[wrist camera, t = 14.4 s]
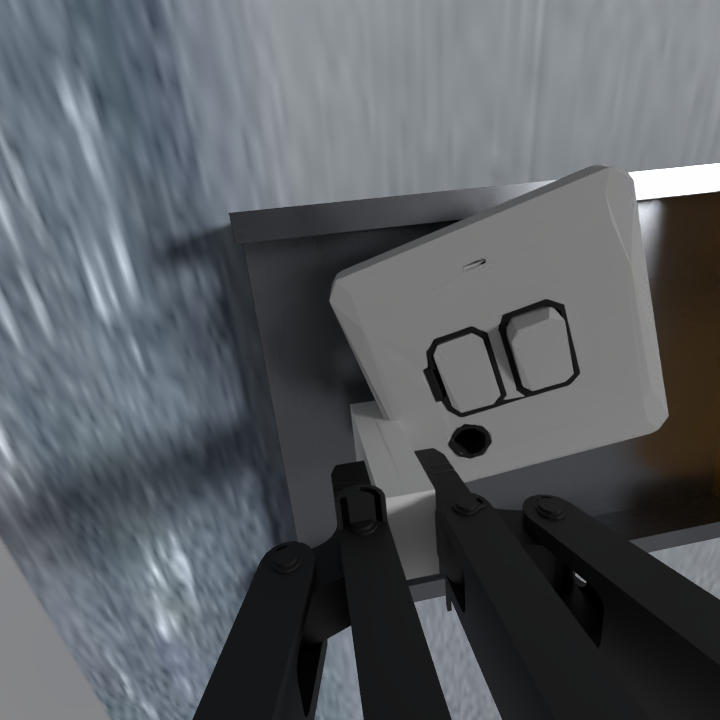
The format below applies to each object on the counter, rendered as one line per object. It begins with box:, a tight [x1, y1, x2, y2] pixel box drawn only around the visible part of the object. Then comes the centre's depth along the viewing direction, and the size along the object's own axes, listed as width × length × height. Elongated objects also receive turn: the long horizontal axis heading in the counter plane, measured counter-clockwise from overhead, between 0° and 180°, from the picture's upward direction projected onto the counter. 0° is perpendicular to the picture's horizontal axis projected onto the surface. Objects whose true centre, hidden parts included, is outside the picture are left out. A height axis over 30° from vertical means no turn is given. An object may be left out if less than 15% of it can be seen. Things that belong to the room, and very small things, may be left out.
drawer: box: [229, 163, 720, 602], centre depth 17 cm, size 18×24×8 cm
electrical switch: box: [329, 164, 669, 483], centre depth 15 cm, size 9×5×9 cm
